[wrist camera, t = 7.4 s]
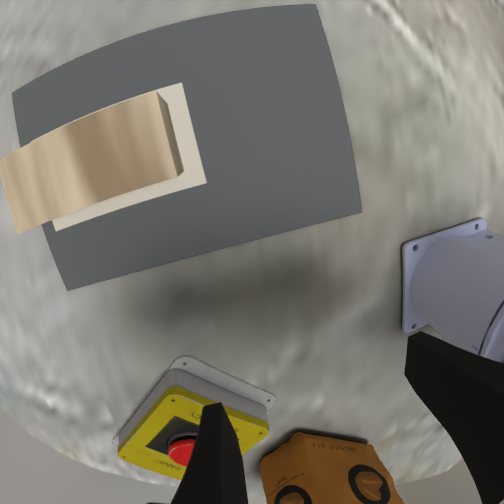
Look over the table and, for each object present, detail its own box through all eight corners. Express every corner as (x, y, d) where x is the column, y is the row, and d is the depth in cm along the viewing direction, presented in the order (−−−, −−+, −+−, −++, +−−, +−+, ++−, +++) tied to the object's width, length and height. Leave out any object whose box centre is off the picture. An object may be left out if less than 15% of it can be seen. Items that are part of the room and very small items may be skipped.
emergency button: (292, 431, 20) (191, 502, 23) (279, 392, 24) (190, 470, 27) (179, 387, 17) (103, 474, 20) (181, 346, 21) (110, 440, 24)
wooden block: (156, 90, 12) (-3, 161, 11) (177, 176, 13) (17, 234, 12) (167, 103, 15) (33, 156, 15) (184, 170, 17) (50, 216, 16)
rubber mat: (313, 5, 15) (316, 3, 14) (360, 211, 19) (363, 212, 19) (14, 93, 13) (10, 92, 13) (69, 289, 18) (66, 291, 18)
